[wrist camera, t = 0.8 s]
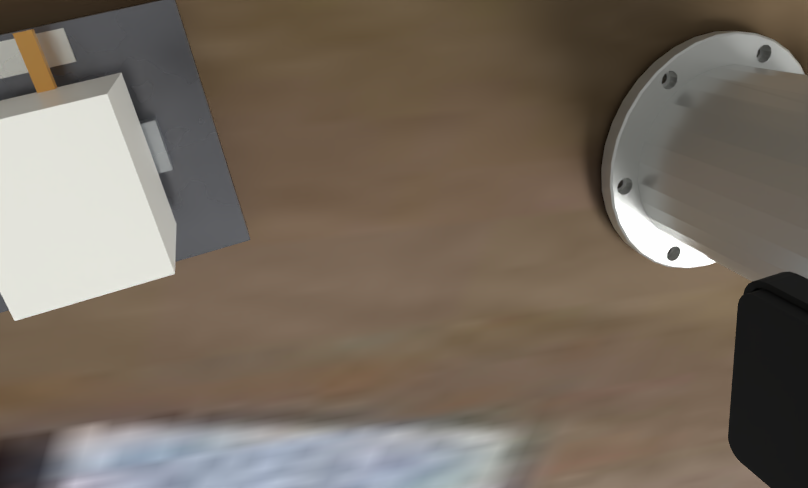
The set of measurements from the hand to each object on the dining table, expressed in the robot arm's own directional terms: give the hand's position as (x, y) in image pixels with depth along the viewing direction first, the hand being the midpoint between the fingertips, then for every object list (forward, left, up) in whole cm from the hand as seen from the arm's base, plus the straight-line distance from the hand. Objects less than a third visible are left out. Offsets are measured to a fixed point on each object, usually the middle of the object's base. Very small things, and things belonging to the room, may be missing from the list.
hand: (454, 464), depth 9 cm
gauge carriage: (+7, -2, -20) cm, 21 cm away
